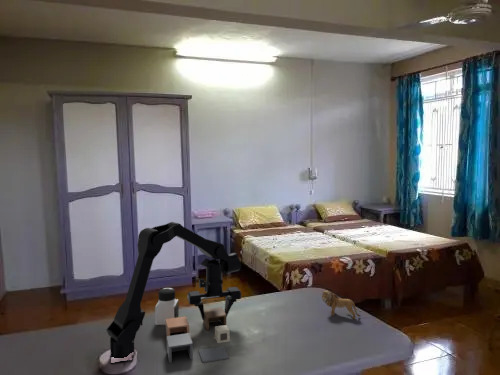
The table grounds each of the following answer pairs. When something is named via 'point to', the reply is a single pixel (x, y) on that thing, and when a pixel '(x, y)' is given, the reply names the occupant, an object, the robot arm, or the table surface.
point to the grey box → (179, 345)
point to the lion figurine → (338, 303)
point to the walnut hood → (214, 316)
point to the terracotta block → (177, 325)
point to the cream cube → (222, 333)
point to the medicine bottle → (166, 306)
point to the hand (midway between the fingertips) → (214, 318)
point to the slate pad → (213, 354)
